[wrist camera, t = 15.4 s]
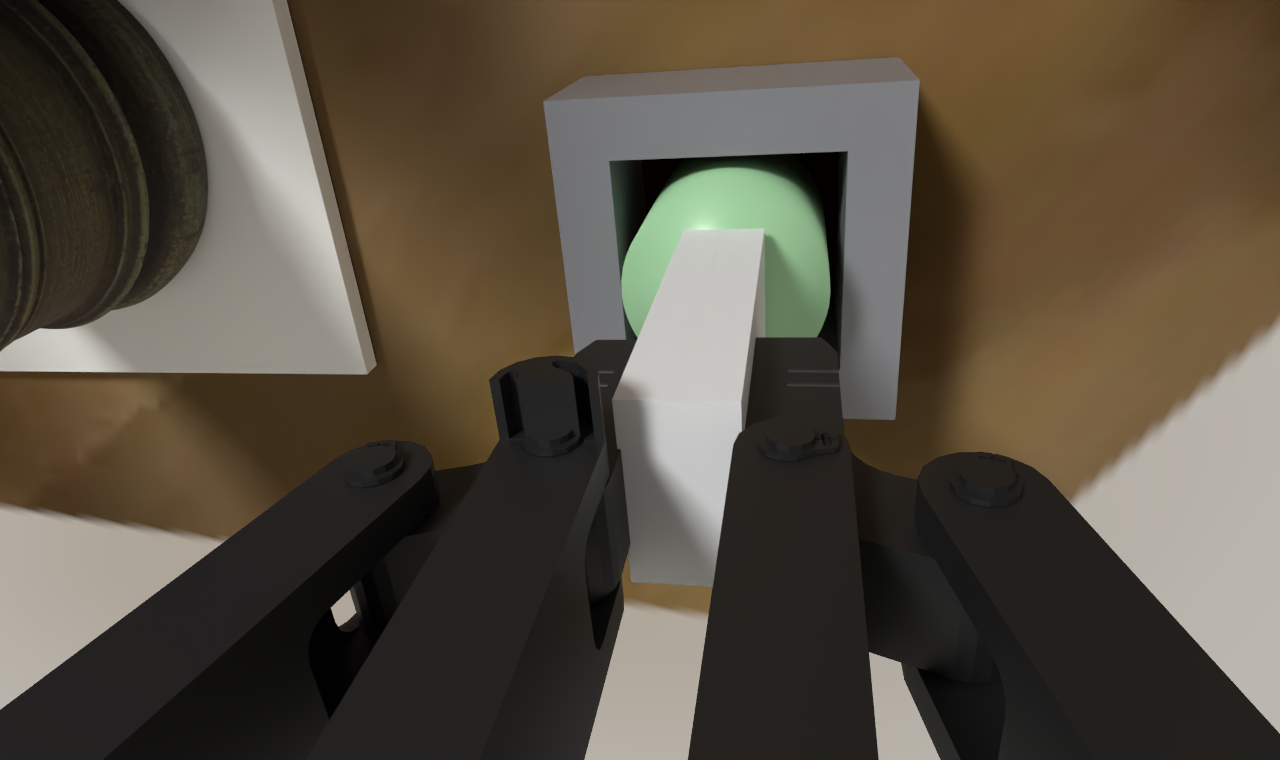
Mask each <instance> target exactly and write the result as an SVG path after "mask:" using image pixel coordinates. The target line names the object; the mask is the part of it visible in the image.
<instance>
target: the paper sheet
mask: <svg viewBox="0 0 1280 760" xmlns="http://www.w3.org/2000/svg"><path fill="white" fill-rule="evenodd" d="M118 1H119V2H120V3H121V4H122V5H123V6H124V7H125V8H126V9H127V10H128V11H129V12H130V13H131V14H132V15H133V16H134V17H135V18H136V19H137V20H138V21H139V22H140V23H141V25H142V26H143V27H144V28H145V29H146V30H147V32H148V33H149V34H150V36H151V37H152V38H153V40H154V41H155V42H156V44H157V45H158V47H159V48H160V50H161V51H162V52H163V54H164V55H165V57H166V59H167V60H168V62H169V64H170V65H171V67H172V69H173V71H174V72H175V74H176V76H177V78H178V80H179V81H180V83H181V85H182V87H183V89H184V91H185V93H186V95H187V98H188V100H189V102H190V104H191V107H192V109H193V112H194V115H195V118H196V121H197V124H198V127H199V130H200V134H201V138H202V142H203V146H204V151H205V157H206V164H207V176H208V198H207V211H206V218H205V223H204V227H203V231H202V234H201V236H200V239H199V241H198V243H197V246H196V248H195V250H194V252H193V253H192V255H191V257H190V258H189V260H188V261H187V263H186V264H185V265H184V267H183V268H182V269H181V270H180V271H179V273H178V274H177V275H176V276H175V277H174V278H173V279H172V280H171V281H170V282H169V283H168V284H167V285H166V286H165V287H164V288H163V289H161V290H160V291H159V292H158V293H156V294H155V295H153V296H152V297H150V298H148V299H147V300H145V301H143V302H141V303H138V304H136V305H133V306H129V307H126V308H122V309H118V310H112V311H110V312H109V313H107V314H106V315H104V316H103V317H101V318H99V319H97V320H95V321H93V322H91V323H89V324H86V325H83V326H79V327H74V328H68V329H42V328H40V329H37V330H35V331H33V332H31V333H30V334H28V335H26V336H24V337H22V338H19V339H17V340H15V341H13V342H12V343H11V344H9V345H8V346H6V347H5V348H4V349H3V350H2V351H0V371H38V372H149V373H261V374H368V373H369V372H370V371H371V370H372V369H373V368H374V367H375V366H376V365H377V364H376V360H375V356H374V352H373V348H372V343H371V339H370V335H369V331H368V327H367V323H366V319H365V315H364V311H363V307H362V303H361V299H360V295H359V291H358V287H357V283H356V279H355V275H354V271H353V267H352V263H351V259H350V254H349V250H348V246H347V242H346V238H345V234H344V230H343V226H342V222H341V218H340V214H339V210H338V206H337V202H336V198H335V194H334V190H333V186H332V182H331V178H330V174H329V170H328V166H327V161H326V157H325V153H324V149H323V145H322V141H321V137H320V133H319V129H318V125H317V121H316V117H315V113H314V109H313V105H312V101H311V97H310V93H309V89H308V85H307V81H306V77H305V72H304V68H303V64H302V60H301V56H300V52H299V48H298V44H297V40H296V36H295V32H294V28H293V24H292V20H291V16H290V12H289V8H288V4H287V0H118Z"/></svg>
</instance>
